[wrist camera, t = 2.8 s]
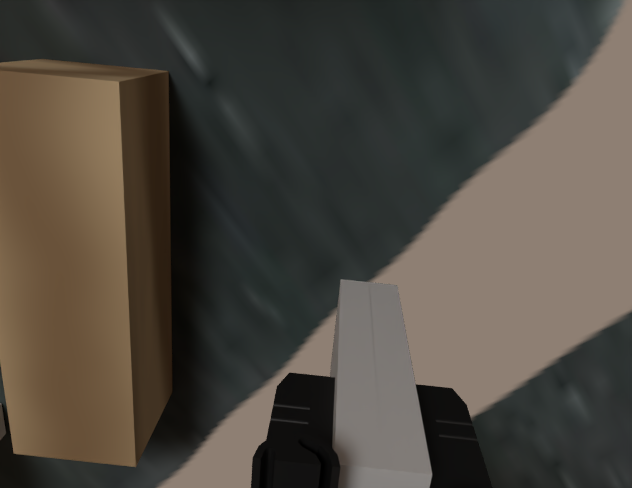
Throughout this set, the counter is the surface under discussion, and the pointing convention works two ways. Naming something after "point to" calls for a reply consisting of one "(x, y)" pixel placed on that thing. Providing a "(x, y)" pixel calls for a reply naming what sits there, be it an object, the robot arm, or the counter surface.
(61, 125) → the tee
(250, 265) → the counter surface
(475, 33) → the counter surface
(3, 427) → the bay
